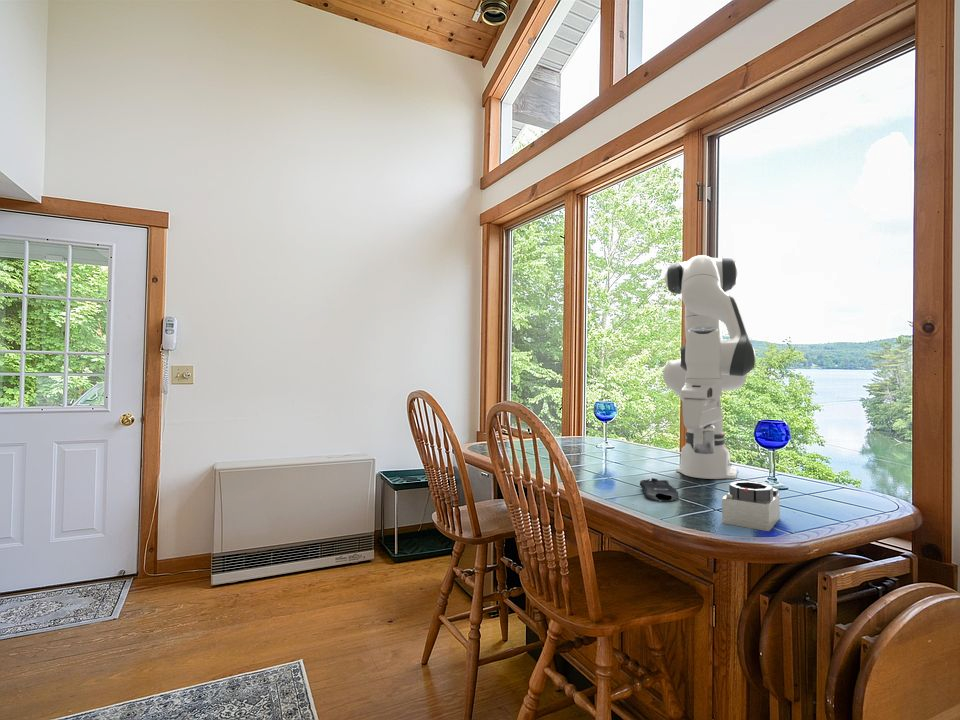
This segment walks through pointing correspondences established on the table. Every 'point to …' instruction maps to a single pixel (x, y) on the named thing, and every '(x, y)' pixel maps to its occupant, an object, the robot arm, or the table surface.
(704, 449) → the lens
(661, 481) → the electronic device
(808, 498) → the table surface
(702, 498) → the table surface
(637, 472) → the table surface
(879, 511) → the table surface
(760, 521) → the camera body
